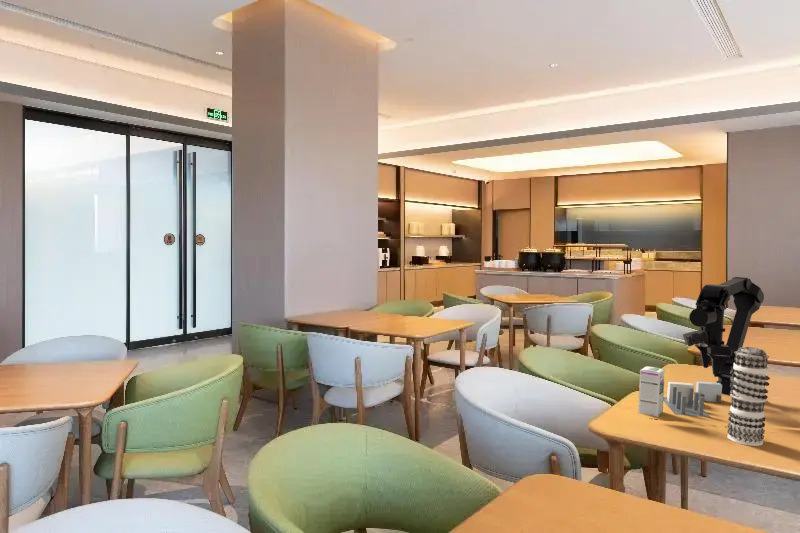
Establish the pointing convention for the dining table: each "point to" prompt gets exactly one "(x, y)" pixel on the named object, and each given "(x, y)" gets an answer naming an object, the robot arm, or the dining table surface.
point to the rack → (682, 407)
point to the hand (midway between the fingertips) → (710, 371)
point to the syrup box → (651, 391)
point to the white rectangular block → (679, 389)
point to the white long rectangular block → (709, 390)
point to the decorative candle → (748, 396)
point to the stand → (717, 398)
